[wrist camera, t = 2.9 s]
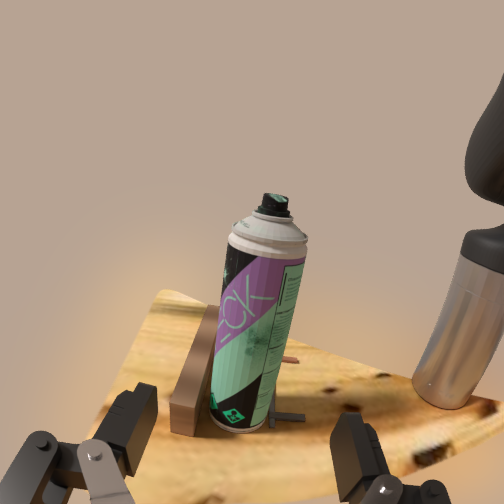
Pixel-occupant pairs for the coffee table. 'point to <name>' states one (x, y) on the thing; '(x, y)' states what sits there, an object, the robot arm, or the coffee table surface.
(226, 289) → the spray can
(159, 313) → the coffee table surface
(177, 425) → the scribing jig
